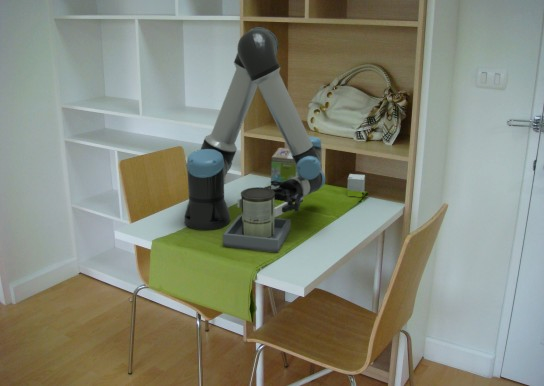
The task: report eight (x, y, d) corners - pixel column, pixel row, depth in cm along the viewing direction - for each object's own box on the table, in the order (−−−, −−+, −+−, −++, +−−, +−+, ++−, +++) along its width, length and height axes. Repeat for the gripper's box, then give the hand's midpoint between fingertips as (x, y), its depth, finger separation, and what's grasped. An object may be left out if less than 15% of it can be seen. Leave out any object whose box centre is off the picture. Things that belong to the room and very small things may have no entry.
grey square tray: (223, 246, 170) (222, 234, 169) (239, 225, 186) (239, 214, 184) (277, 252, 166) (278, 240, 165) (290, 230, 182) (290, 219, 180)
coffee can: (236, 232, 178) (235, 190, 173) (265, 226, 182) (265, 185, 178) (250, 244, 169) (249, 200, 164) (280, 238, 174) (281, 195, 169)
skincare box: (364, 192, 217) (365, 174, 215) (362, 198, 212) (364, 179, 209) (348, 191, 219) (349, 173, 216) (346, 196, 213) (347, 178, 211)
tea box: (296, 196, 213) (296, 158, 209) (270, 194, 215) (270, 156, 210) (302, 183, 227) (302, 148, 222) (277, 182, 229) (277, 146, 224)
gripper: (326, 207, 182) (290, 228, 166) (263, 192, 196) (224, 210, 179) (327, 185, 180) (290, 204, 163) (263, 172, 193) (224, 188, 177)
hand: (256, 208), depth 171 cm, fingers open, 13 cm apart
